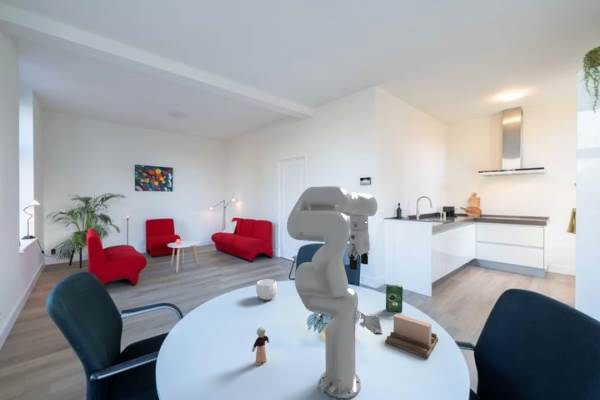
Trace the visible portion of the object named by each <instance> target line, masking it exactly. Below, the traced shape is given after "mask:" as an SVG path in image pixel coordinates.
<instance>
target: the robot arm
mask: <svg viewBox="0 0 600 400" xmlns="http://www.w3.org/2000/svg"><path fill="white" fill-rule="evenodd" d="M377 212H378V202H377V199H376V197H375V196H373V195H371V194H367V193H361V192H360V193H359V192H355V191H349V190H347V189H346V188H343V187H340V186H334V185H330V186H327V185H326V186H310V187H308V188H306V189H305V190H304V191H303V192H302V193H301V194H300V196H299V198H298V199H297V201H296V203H295V204H294V206H293V207H292V209H291V211H290V214H289V215H288V218H287V222H286V231H287V233H288V235H289V236H290V238H291V239H293V240H296V241H305V242H306V241H307V242H319V243H324V244H323V245H321V246H320V247H319V248H318V249H317V251H316V252H315V253H314V254H313V256H312V258H311V261H309V262H308V261H306V262H302V263H301V264H299V266H298V267H297V268H296V270H295V274H294V285H295V289H296V292H297V294H298V296H299V298H300V300H301V302H302V304H303V306H304V307H305V309H306V310H307V311H308V312H310V313H311V312H312V313H316V314H321V315H326V316H330V317H332V318H331V319H330V320H328V322H327V324H326V326H325V328H324V329H325V330H324V335H325V336H324V339H325V342H324V343H325V345H324V346H325V347H324V348H325V353H324V354H325V356H324V357H325V358H324V359H325V371H323V373H322V374H321V377H320V384H319V385H318V387H317V391H318V392H319V394H323V393H326V394H328V395H330V396H332V397H333V396H334V397H333V398H336V397H337V399H342V398H345V399H350V397H351V398H353V397H355V396H356V395H357V394H358V393H359V392H360V390H361V387H362V386H361V379H360V377H359V375H358V374H356V322H357V321H356V320H357V314H358V306H359V296H358V294H357V292H356V290H354V289H353V288H351V287H349V282H348V281H349V280H348V277H347V272H346V269H345V264H344V261H343V259H344V257H345V253H346V252H347V256H348V260H349V269H350V270H353V271H357V270H358V259H357V258H358V255H359V256H360V264H361V265H369V254H370V253H369V251H370V249H371V248H370V245H371V244H370V243H371V242H370V234H369V217H373V216H375V215H376V214H377ZM347 246H348V249H347Z"/></svg>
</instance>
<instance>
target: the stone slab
mask: <svg viewBox="0 0 600 400" xmlns="http://www.w3.org/2000/svg"><path fill="white" fill-rule="evenodd" d="M359 312H360V313H361V318H360V319H359V320H363V321H361V322H359V326H361V327H362V328H366V329H367V330H369V331H370V332H371V334H372V333H373V334H377V333H379V334H381V335H383V332H382V331H383V330H382V327H381V323H380V319H379V317H376V316H375V315H374V316H373V315H369V316H368V315H365V313H363V312H361V311H359Z"/></svg>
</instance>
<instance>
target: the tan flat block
mask: <svg viewBox="0 0 600 400" xmlns="http://www.w3.org/2000/svg"><path fill="white" fill-rule="evenodd" d="M393 331H394V333H396V334H399V335H402V336H405V337H408V338H410V339H413V340H416V341H419V342H422V343H425V344H428V345H431V332H432V323H430V322H426V321H423V320H419V319H416V318H412V317H410V316H406V315H402V314H399V313H395V314H394V315H393Z"/></svg>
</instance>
